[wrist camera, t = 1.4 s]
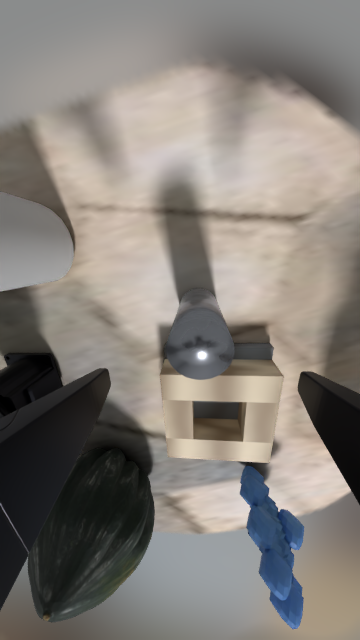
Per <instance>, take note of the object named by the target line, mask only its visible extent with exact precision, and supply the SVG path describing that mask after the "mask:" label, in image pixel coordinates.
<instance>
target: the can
mask: <svg viewBox="0 0 360 640" xmlns="http://www.w3.org/2000/svg"><path fill="white" fill-rule="evenodd" d="M73 258H74V250H73V242H72V239H71V236H70V233H69V231H68V229H67V227H66V226H65V224H64V223H63V221H62V219H61V218H59V217H58V216H57V215H56V214H55V213H54V212H53V211H52V210H51V209H49V208H47V207H45V206H43V205H41V204H39V203H36V202H33V201H30V200H27V199H23V198H20V197H17V196H14V195H11V194H8V193H5V192H1V191H0V291H6V290H11V289H16V288H21V287H26V286H32V285H37V284H42V283H47V282H52V281H57V280H59V279H60V278H62V277H64V276H65V275H66V274H67V272H68V271H69V269H70V268H71V265H72V261H73Z"/></svg>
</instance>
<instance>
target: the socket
mask: <svg viewBox="0 0 360 640" xmlns="http://www.w3.org/2000/svg"><path fill="white" fill-rule="evenodd" d="M273 348H274V347H273V346H272V345H271V344H270V343H234V351H235V352H234V357H233V360H232V362H231V364H230V366H229V367H228V368H227V369H226V370H225V371H224V372H223V373H221V374H220V375H218V376H216V377H214V378H211V379H206V380H196V379H191V378H187V377H185V376H183V375H181V374H180V373H178V372H177V371H176V370H175V369H174V368H173V367H172V366H171V364H170V363H169V360H168V358H167V354H166V344H165V346H164V355H165V360H164V363H163V367H162V370H161V373H160V380H161V390H162V401H163V411H164V422H165V432H166V443H167V453H168V457H174V458H191V459H209V460H226V461H243V462H261V463H270V457H271V451H272V445H273V439H274V433H275V427H276V421H277V415H278V409H279V402H280V396H281V390H282V384H283V378H284V376H283V375H282V373H281V372H280V370H279V369H278V368H277V366H276V365H275V363H274V362H273V360H272V356H273Z"/></svg>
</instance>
